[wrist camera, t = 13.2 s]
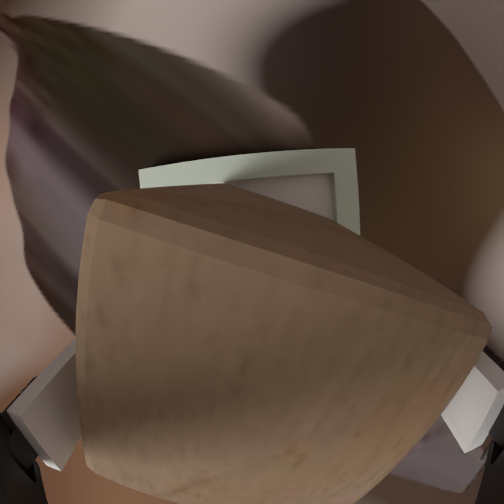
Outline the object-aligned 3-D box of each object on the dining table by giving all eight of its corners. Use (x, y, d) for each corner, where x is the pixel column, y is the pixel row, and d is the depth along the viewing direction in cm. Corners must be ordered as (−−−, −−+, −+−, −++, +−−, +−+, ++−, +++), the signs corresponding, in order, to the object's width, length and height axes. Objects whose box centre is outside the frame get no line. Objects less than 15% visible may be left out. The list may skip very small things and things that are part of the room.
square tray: (147, 170, 25) (138, 169, 23) (347, 150, 24) (354, 148, 22) (178, 347, 29) (173, 359, 27) (351, 333, 28) (357, 344, 26)
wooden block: (331, 219, 25) (503, 324, 5) (291, 320, 27) (334, 524, 7) (219, 181, 24) (83, 186, 5) (188, 288, 26) (83, 471, 7)
